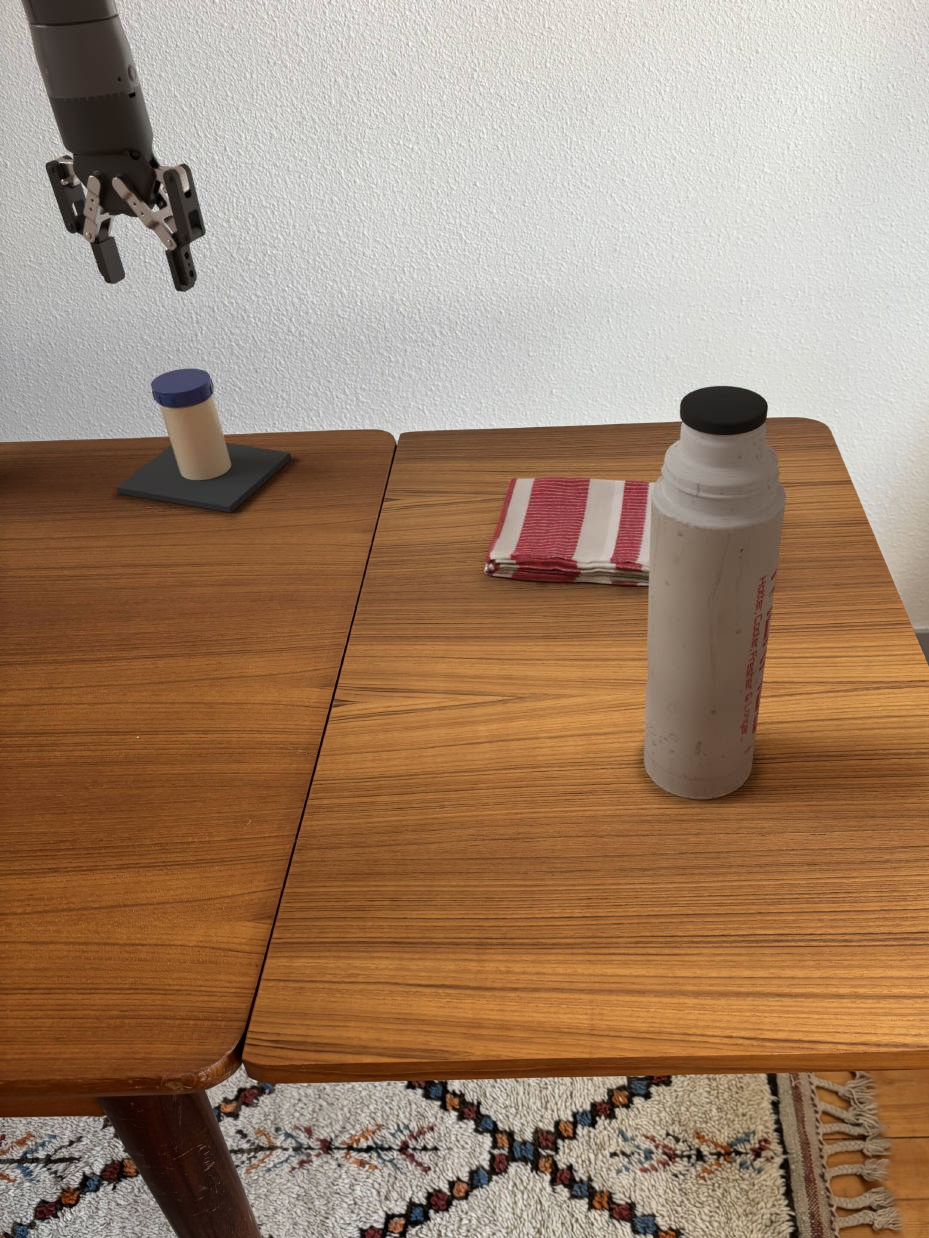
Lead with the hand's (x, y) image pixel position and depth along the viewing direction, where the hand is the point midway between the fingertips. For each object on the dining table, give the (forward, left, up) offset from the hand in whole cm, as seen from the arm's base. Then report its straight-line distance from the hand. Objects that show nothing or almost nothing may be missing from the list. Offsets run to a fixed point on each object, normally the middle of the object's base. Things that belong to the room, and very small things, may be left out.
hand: (151, 284), depth 99 cm
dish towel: (+46, +1, -20) cm, 50 cm away
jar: (0, 0, -19) cm, 19 cm away
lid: (0, 0, -10) cm, 10 cm away
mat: (0, 0, -20) cm, 20 cm away
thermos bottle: (+61, -27, -20) cm, 70 cm away
